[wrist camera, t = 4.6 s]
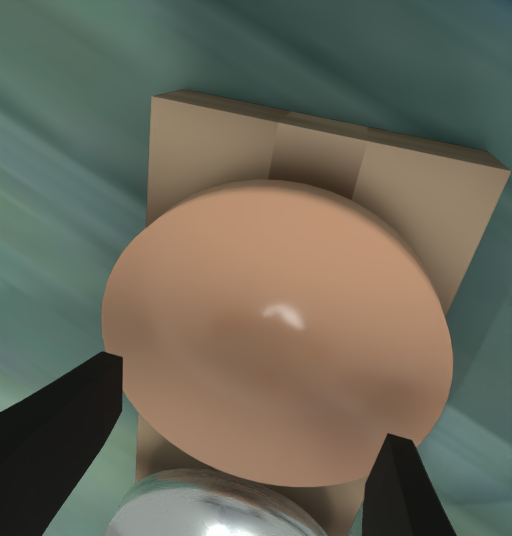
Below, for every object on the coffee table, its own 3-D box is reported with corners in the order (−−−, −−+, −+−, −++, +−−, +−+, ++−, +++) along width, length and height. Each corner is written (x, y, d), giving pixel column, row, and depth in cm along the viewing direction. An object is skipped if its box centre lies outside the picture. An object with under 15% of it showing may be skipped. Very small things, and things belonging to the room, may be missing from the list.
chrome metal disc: (316, 579, 26) (307, 675, 22) (142, 521, 27) (104, 602, 23) (368, 457, 20) (369, 553, 17) (150, 392, 22) (103, 468, 18)
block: (324, 544, 29) (320, 594, 26) (153, 489, 30) (133, 531, 27) (487, 151, 16) (511, 170, 14) (183, 89, 18) (151, 95, 15)
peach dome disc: (381, 427, 19) (385, 523, 16) (152, 362, 21) (102, 434, 17) (480, 195, 14) (524, 251, 10) (165, 127, 16) (98, 154, 12)
